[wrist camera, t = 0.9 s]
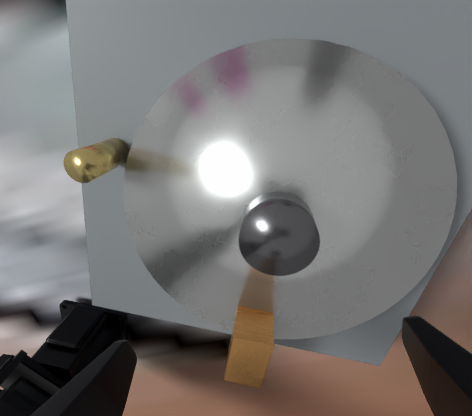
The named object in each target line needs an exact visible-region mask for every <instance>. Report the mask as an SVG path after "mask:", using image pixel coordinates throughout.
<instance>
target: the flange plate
mask: <svg viewBox="0 0 472 416" xmlns="http://www.w3.org/2000/svg"><path fill="white" fill-rule="evenodd" d="M123 199H124V211H125V217H126V221H127V226H128V230H129V233H130V236H131V238H132V241H133V244H134V247H135V249H136V251H137V253H138V254H139V256H140V258H141V260H142V262H143V264H144V265H145V267H146V268H147V270H148V271H149V273H150V274H151V276H152V277H153V278H154V279H155V280H156V282H157V283H158V284H159V285H160V286H161V287H162V289H163V290H165V291H166V292H167V293H168V294H169V295H170V296H171V297H172V298H173V299H174V300H175V301H177V302H178V303H179V304H181V305H182V306H183V307H185V308H186V309H187V310H189V311H190V312H192V313H194V314H195V315H197V316H199V317H200V318H202V319H204V320H206V321H208V322H210V323H212V324H214V325H216V326H219V327H222V328H224V329H227V330H230V331H232V335H231V340H230V345H229V350H228V357H227V363H226V370H225V376H224V381H229V382H234V383H238V384H243V385H247V386H252V387H257V388H261V385H262V382H263V379H264V376H265V373H266V370H267V366H268V363H269V360H270V357H271V354H272V351H273V348H274V339H281V340H286V339H305V338H314V337H320V336H325V335H329V334H334V333H337V332H340V331H343V330H347V329H350V328H353V327H355V326H357V325H359V324H362V323H364V322H366V321H369V320H370V319H372V318H374V317H376V316H377V315H379V314H381V313H383V312H385V311H386V310H387V309H389V308H390V307H392V306H393V305H394V304H396V303H397V302H399V301H400V300H401V299H402V298H403V297H404V296H405V295H407V294H408V293H409V292H410V291H411V290H412V289H413V288H414V287H415V286H416V285H417V284H418V283H419V282H420V280H421V279H422V278H423V277H424V276H425V275H426V273H427V272H428V271H429V269H430V268H431V266H432V265H433V263H434V262H435V260H436V259H437V257H438V256H439V254H440V251H441V249H442V247H443V245H444V243H445V241H446V239H447V237H448V234H449V231H450V227H451V224H452V221H453V218H454V212H455V206H456V200H457V172H456V166H455V159H454V153H453V150H452V147H451V144H450V141H449V138H448V135H447V133H446V130H445V128H444V126H443V125H442V123H441V121H440V119H439V117H438V115H437V114H436V112H435V110H434V108H433V107H432V106H431V105H430V103H429V102H428V101H427V100H426V98H425V97H424V96H423V95H422V93H421V92H420V91H419V90H418V89H417V88H416V87H415V86H414V85H413V84H412V83H411V82H409V81H408V80H407V79H406V78H405V77H404V76H403V75H402V74H401V73H399V72H398V71H396V70H395V69H393V68H392V67H390V66H388V65H387V64H385V63H384V62H382V61H381V60H379V59H377V58H375V57H373V56H371V55H368V54H366V53H364V52H361V51H359V50H357V49H354V48H352V47H348V46H344V45H340V44H336V43H332V42H328V41H324V40H313V39H302V38H289V39H272V40H265V41H260V42H256V43H251V44H246V45H242V46H239V47H236V48H234V49H231V50H228V51H226V52H223V53H220V54H217V55H216V56H214V57H212V58H210V59H208V60H206V61H205V62H203V63H201V64H199V65H197V66H196V67H194V68H193V69H191V70H190V71H189V72H187V73H186V74H185V75H183V76H182V77H181V78H179V79H178V80H177V81H175V82H174V83H173V84H172V85H171V86H170V87H169V88H168V89H167V90H166V91H165V92H164V93H163V95H162V96H161V97H160V98H159V99H158V100H157V101H156V103H155V104H154V105H153V107H152V108H151V109H150V111H149V112H148V114H147V115H146V116H145V118H144V120H143V122H142V124H141V125H140V127H139V129H138V131H137V133H136V135H135V137H134V140H133V143H132V146H131V149H130V151H129V154H128V158H127V163H126V168H125V173H124V186H123Z"/></svg>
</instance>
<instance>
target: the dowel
mask: <svg viewBox="0 0 472 416" xmlns="http://www.w3.org/2000/svg"><path fill="white" fill-rule="evenodd" d="M129 151H130V150H129V148H128V146H127V144H126V143H125V142H124V141H123V140H121V139H119V138H110V139H107V140H104V141H101V142H98V143H95V144H91V145H88V146H85V147H82V148H79V149H76V150H73V151H70V152H68V153H67V154H66V156H65V158H64V167H65V170H66V172H67V173H68V175H69V176H70V177H71V178H72V179H74V180H75V181H77V182H80V183H88V182H90V181H92V180H94V179H96V178H98V177H100V176H102V175H103V174H105V173H107V172H109V171H111V170H113V169H115V168H117V167H118V166H120V165H122V164H124V163H126V162H127V158H128V154H129Z"/></svg>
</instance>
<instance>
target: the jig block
mask: <svg viewBox="0 0 472 416" xmlns="http://www.w3.org/2000/svg"><path fill="white" fill-rule="evenodd" d="M66 8H67V20H68V31H69V43H70V54H71V66H72V77H73V89H74V100H75V112H76V123H77V135H78V146H79V148H82V147H85V146H88V145H91V144H95V143H98V142H101V141H104V140H107V139H110V138H119V139H121V140H123V141H124V142H125V143H126V144H127V146H128V148H129V150H130V149H131V146H132V143H133V140H134V137H135V135H136V133H137V131H138V129H139V127H140V125H141V124H142V122H143V120H144V118H145V116H146V115H147V114H148V112H149V111H150V109H151V108H152V107H153V105H154V104H155V103H156V101H157V100H158V99H159V98H160V97H161V96H162V95H163V93H164V92H165V91H166V90H167V89H168V88H169V87H170V86H171V85H172V84H173V83H174V82H175V81H177V80H178V79H179V78H181V77H182V76H183V75H185V74H186V73H187V72H189V71H190V70H191V69H193V68H194V67H196V66H197V65H199V64H201V63H203V62H205V61H206V60H208V59H210V58H212V57H214V56H216V55H217V54H220V53H223V52H226V51H228V50H231V49H234V48H236V47H239V46H242V45H246V44H251V43H256V42H260V41H265V40H272V39H289V38H302V39H313V40H324V41H328V42H332V43H336V44H340V45H344V46H348V47H352V48H354V49H357V50H359V51H361V52H364V53H366V54H368V55H371V56H373V57H375V58H377V59H379V60H381V61H382V62H384V63H385V64H387V65H388V66H390V67H392V68H393V69H395V70H396V71H398V72H399V73H401V74H402V75H403V76H404V77H405V78H406V79H407V80H408V81H409V82H411V83H412V84H413V85H414V86H415V87H416V88H417V89H418V90H419V91H420V92H421V93H422V95H423V96H424V97H425V98H426V100H427V101H428V102H429V103H430V105H431V106H432V107H433V108H434V110H435V112H436V114H437V115H438V117H439V119H440V121H441V123H442V125H443V126H444V128H445V130H446V133H447V135H448V138H449V141H450V144H451V147H452V150H453V153H454V159H455V166H456V172H457V200H456V206H455V212H454V218H453V221H452V224H451V227H450V231H449V234H448V237H447V239H446V241H445V243H444V245H443V247H442V249H441V251H440V254H439V256H438V257H437V259H436V260H435V262H434V263H433V265H432V266H431V268H430V269H429V271H428V272H427V273H426V275H425V276H424V277H423V278H422V279H421V280H420V282H419V283H418V284H417V285H416V286H415V287H414V288H413V289H412V290H411V291H410V292H409V293H408V294H407V295H405V296H404V297H403V298H402V299H401V300H400V301H399V302H397V303H396V304H394V305H393V306H392V307H390V308H389V309H387V310H386V311H385V312H383V313H381V314H379V315H377V316H376V317H374V318H372V319H370V320H369V321H366V322H364V323H362V324H359V325H357V326H355V327H353V328H350V329H347V330H343V331H340V332H337V333H334V334H329V335H325V336H320V337H314V338H305V339H286V340H281V339H274V344H279V345H284V346H288V347H293V348H298V349H303V350H307V351H312V352H317V353H321V354H326V355H331V356H336V357H340V358H345V359H350V360H355V361H359V362H364V363H369V364H374V365H378V366H380V364H381V363H382V361H383V359H384V357H385V356H386V354H387V352H388V351H389V349H390V347H391V345H392V344H393V342H394V340H395V339H396V337H397V335H398V334H399V332H400V330H401V328H402V320H403V318H404V317H408V316H409V315H410V313H411V311H412V310H413V308H414V306H415V305H416V303H417V301H418V299H419V298H420V296H421V294H422V293H423V291H424V289H425V288H426V286H427V284H428V282H429V281H430V279H431V277H432V276H433V274H434V272H435V270H436V269H437V267H438V265H439V264H440V262H441V260H442V259H443V257H444V255H445V253H446V252H447V250H448V248H449V247H450V245H451V243H452V241H453V240H454V238H455V236H456V235H457V233H458V231H459V230H460V228H461V226H462V224H463V223H464V221H465V219H466V218H467V216H468V214H469V212H470V211H471V209H472V0H66ZM126 163H127V162H126ZM126 163H124V164H122V165H120V166H118V167H117V168H115V169H113V170H111V171H109V172H107V173H105V174H103V175H102V176H100V177H98V178H96V179H94V180H92V181H90V182H88V183H82V192H83V204H84V215H85V227H86V239H87V250H88V262H89V273H90V285H91V296H92V305H94V306H99V307H103V308H108V309H113V310H118V311H122V312H127V313H132V314H137V315H141V316H146V317H151V318H156V319H160V320H165V321H170V322H174V323H179V324H184V325H189V326H193V327H198V328H203V329H208V330H212V331H217V332H222V333H227V334H231V335H232V331H230V330H227V329H224V328H222V327H219V326H216V325H214V324H212V323H210V322H208V321H206V320H204V319H202V318H200V317H199V316H197V315H195V314H194V313H192V312H190V311H189V310H187V309H186V308H185V307H183V306H182V305H181V304H179V303H178V302H177V301H175V300H174V299H173V298H172V297H171V296H170V295H169V294H168V293H167V292H166V291H165V290H163V289H162V287H161V286H160V285H159V284H158V283H157V282H156V280H155V279H154V278H153V277H152V276H151V274H150V273H149V271H148V270H147V268H146V267H145V265H144V264H143V262H142V260H141V258H140V256H139V254H138V253H137V251H136V249H135V247H134V244H133V241H132V238H131V236H130V233H129V230H128V226H127V221H126V217H125V211H124V199H123V186H124V173H125V168H126Z"/></svg>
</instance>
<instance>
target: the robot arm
mask: <svg viewBox="0 0 472 416" xmlns="http://www.w3.org/2000/svg"><path fill="white" fill-rule="evenodd" d="M60 312H61V318H62V322H61V323H60V324H59V325H58V326H57V328H56V329H55V330H54V331H53V332H52V333H51V334H50V335H49V337H48V338H47V339H46V342H45V343H44V344H43V345H42V346H41V347H40V348H39V350H38V351H37V352H36V353H35V354H34V355H33V356H32V358H30V357H29V356H27V353H26V352H24V351H23V350H21V351H20V352H19V353H18V354H16V355H15V356H14V355H6V354H3V355H2V356H1V357H0V386H1V387H2V388H4V389H3V390H0V416H122V414H123V411H124V408H125V404H126V401H127V397H128V393H129V389H130V386H131V382H132V378H133V374H134V370H135V367H136V362H137V357H136V354H135V352H134V350H133V348H132V346H131V344H130V343H129V341H127V316H126V314H125V313H124V312H121V311H116V310H111V309H106V308H102V307H97V306H92V305H87V304H83V303H78V302H73V301H68V300H64V301H63V302H62V303H61V304H60ZM402 339H403V343H404V346H405V348H406V351H407V353H408V356H409V358H410V361H411V363H412V366H413V368H414V371H415V373H416V376H417V378H418V380H419V383H420V385H421V388H422V390H423V393H424V395H425V397H426V400H427V402H428V404H429V406H430V408H431V410H432V412H433V414H434V416H472V354H471V353H470V352H468V351H467V350H466V349H464V348H463V347H461V346H460V345H459V344H457V343H456V342H454V341H453V340H452V339H450V338H449V337H447V336H446V335H445V334H443V333H442V332H440V331H439V330H438V329H436V328H435V327H433V326H432V325H431V324H429V323H428V322H427V321H425V320H424V319H422V318H421V317H419V316H408V317H404V318H403V320H402Z"/></svg>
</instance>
